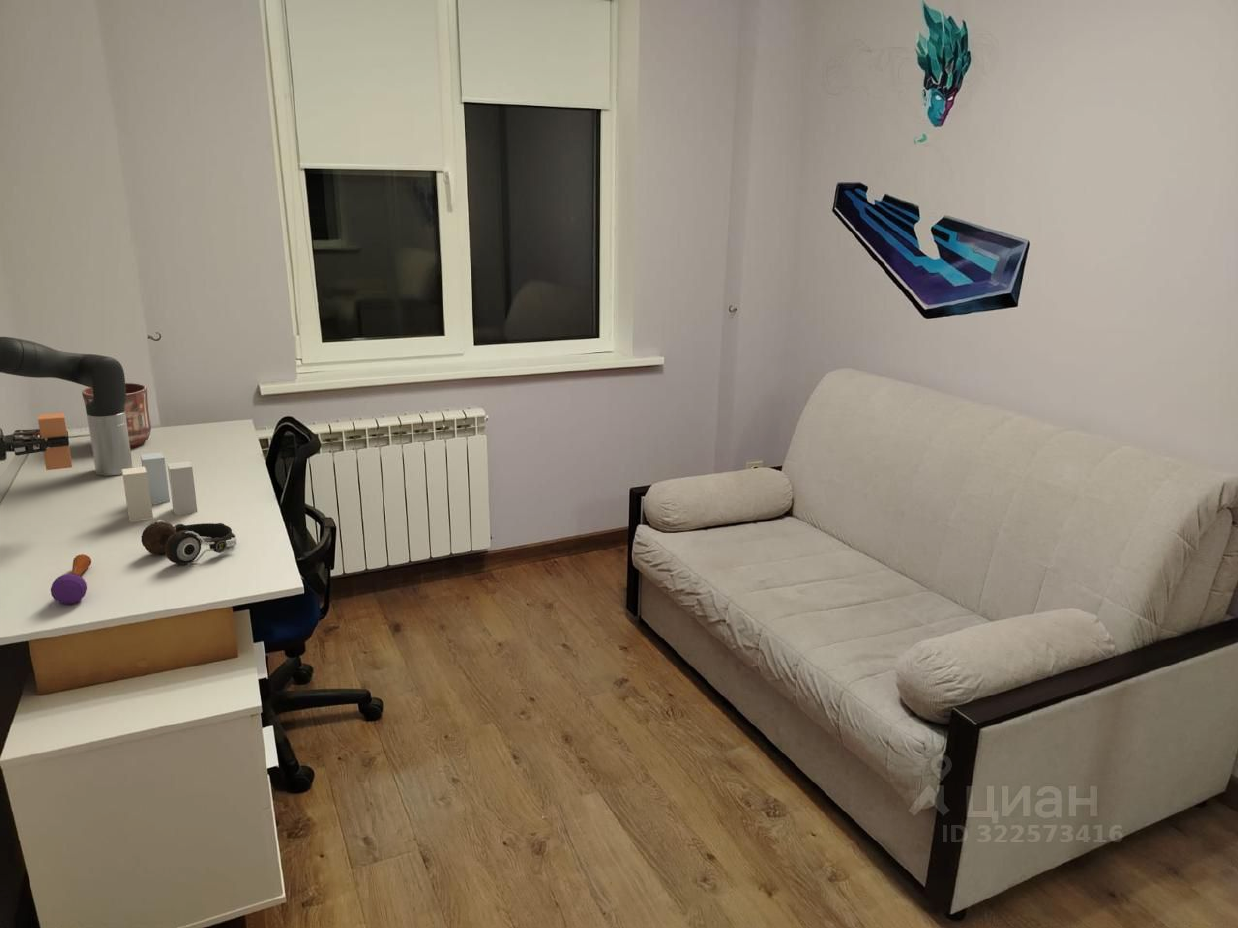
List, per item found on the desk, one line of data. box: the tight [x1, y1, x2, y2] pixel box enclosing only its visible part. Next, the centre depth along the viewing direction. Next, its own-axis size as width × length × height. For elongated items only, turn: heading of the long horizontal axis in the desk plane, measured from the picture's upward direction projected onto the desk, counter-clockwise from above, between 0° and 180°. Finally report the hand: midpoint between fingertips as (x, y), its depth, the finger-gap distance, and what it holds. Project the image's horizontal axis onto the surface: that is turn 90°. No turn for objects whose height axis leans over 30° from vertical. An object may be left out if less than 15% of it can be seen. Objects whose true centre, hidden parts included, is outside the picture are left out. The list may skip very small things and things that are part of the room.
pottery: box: [81, 382, 152, 449], centre depth 265 cm, size 18×18×18 cm
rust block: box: [37, 412, 73, 471], centre depth 197 cm, size 5×5×12 cm
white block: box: [140, 452, 171, 505], centre depth 221 cm, size 5×5×12 cm
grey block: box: [166, 460, 198, 516], centre depth 215 cm, size 5×5×12 cm
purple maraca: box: [50, 553, 92, 605], centre depth 173 cm, size 6×6×20 cm
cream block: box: [121, 466, 154, 522], centre depth 210 cm, size 5×5×12 cm
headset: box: [141, 519, 237, 565], centre depth 194 cm, size 17×8×20 cm
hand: (67, 437), depth 198 cm, fingers closed on rust block, 5 cm apart
